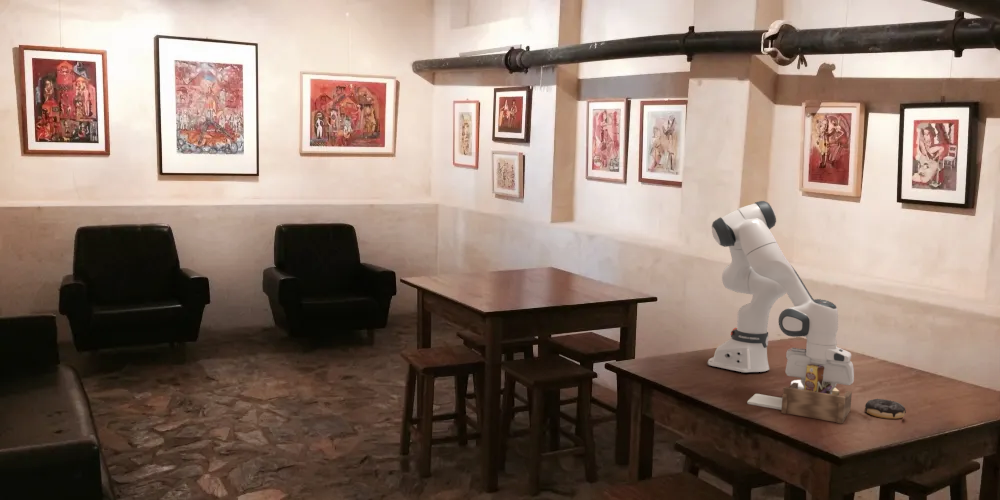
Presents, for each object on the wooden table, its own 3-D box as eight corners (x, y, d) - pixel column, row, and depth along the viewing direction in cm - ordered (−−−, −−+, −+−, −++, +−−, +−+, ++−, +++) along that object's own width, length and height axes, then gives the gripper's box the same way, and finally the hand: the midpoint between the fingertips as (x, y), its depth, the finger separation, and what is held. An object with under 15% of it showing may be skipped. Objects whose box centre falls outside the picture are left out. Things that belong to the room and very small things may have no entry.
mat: (747, 403, 267) (747, 401, 267) (755, 395, 277) (755, 393, 277) (782, 409, 262) (782, 407, 262) (789, 401, 271) (789, 399, 271)
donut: (863, 407, 268) (864, 395, 267) (904, 412, 263) (905, 400, 263) (865, 417, 258) (866, 404, 257) (906, 422, 253) (908, 410, 253)
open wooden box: (781, 413, 258) (783, 388, 257) (792, 400, 273) (793, 376, 272) (842, 423, 249) (844, 398, 248) (850, 409, 264) (852, 385, 263)
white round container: (826, 397, 278) (827, 387, 278) (799, 397, 277) (800, 387, 276) (810, 388, 288) (811, 379, 288) (784, 389, 286) (785, 379, 286)
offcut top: (810, 395, 267) (810, 389, 267) (806, 391, 272) (806, 385, 272) (839, 397, 266) (839, 391, 266) (834, 392, 271) (834, 386, 271)
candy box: (813, 415, 257) (817, 367, 256) (801, 411, 261) (805, 364, 259) (830, 410, 262) (834, 364, 260) (819, 407, 266) (822, 361, 264)
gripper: (784, 348, 262) (781, 390, 263) (853, 358, 252) (850, 401, 253) (788, 344, 267) (786, 386, 269) (856, 354, 257) (853, 397, 259)
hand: (817, 393), depth 261 cm, fingers closed on candy box, 5 cm apart
